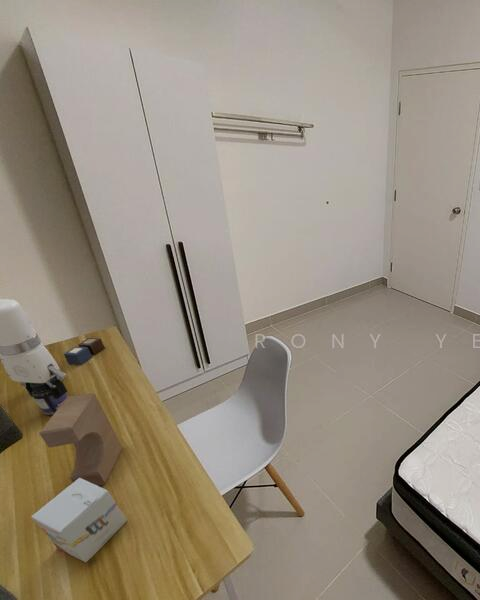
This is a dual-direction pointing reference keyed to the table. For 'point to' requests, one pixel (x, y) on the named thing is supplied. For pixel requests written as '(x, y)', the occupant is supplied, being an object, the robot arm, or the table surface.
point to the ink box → (80, 519)
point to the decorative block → (85, 437)
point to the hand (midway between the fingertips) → (49, 393)
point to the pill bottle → (46, 398)
